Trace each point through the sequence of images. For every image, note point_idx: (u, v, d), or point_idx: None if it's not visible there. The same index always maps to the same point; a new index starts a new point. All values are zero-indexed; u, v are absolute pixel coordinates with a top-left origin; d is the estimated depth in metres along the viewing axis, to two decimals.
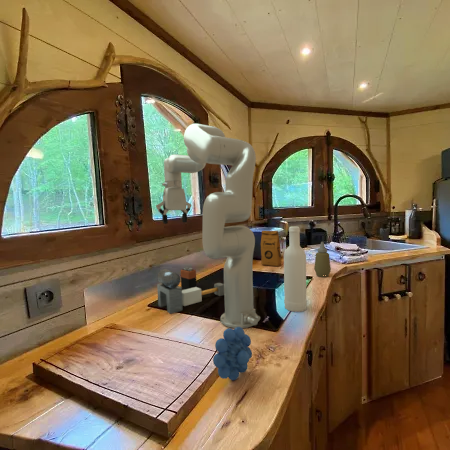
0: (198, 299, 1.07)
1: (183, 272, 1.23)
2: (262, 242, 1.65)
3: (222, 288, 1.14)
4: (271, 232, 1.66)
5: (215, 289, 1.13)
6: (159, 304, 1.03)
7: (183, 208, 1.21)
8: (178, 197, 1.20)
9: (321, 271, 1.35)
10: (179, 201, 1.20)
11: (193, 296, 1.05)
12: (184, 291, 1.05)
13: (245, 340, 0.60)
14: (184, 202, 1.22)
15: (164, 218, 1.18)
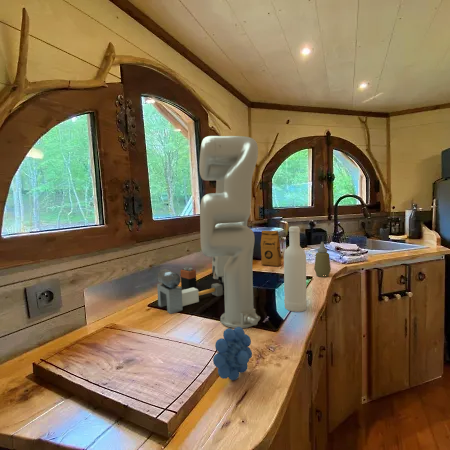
0: (195, 299, 1.06)
1: (183, 272, 1.23)
2: (262, 242, 1.65)
3: (219, 288, 1.13)
4: (271, 232, 1.66)
5: (212, 289, 1.12)
6: (159, 304, 1.03)
7: None
8: None
9: (321, 271, 1.35)
10: None
11: (190, 297, 1.04)
12: None
13: (245, 340, 0.60)
14: None
15: (222, 285, 1.15)
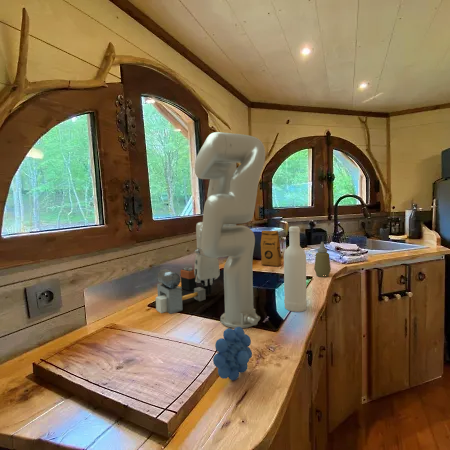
0: None
1: (183, 272, 1.23)
2: (262, 242, 1.65)
3: (202, 293, 1.08)
4: (271, 232, 1.66)
5: (195, 294, 1.07)
6: None
7: (216, 276, 1.11)
8: (211, 265, 1.09)
9: (321, 271, 1.35)
10: (212, 269, 1.10)
11: None
12: (161, 297, 0.99)
13: (245, 340, 0.60)
14: (217, 269, 1.11)
15: (205, 289, 1.11)
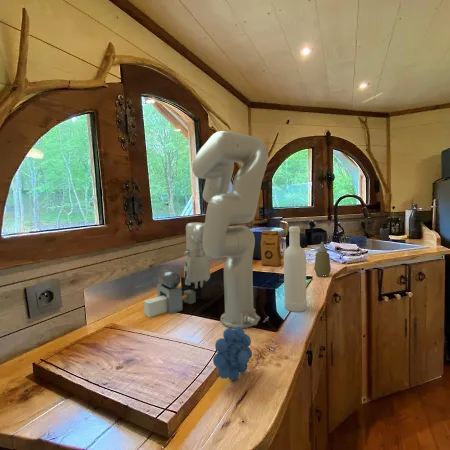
0: (165, 308, 0.97)
1: (183, 272, 1.23)
2: (262, 242, 1.65)
3: (192, 295, 1.05)
4: (271, 232, 1.66)
5: (184, 297, 1.04)
6: None
7: (207, 278, 1.08)
8: (201, 266, 1.06)
9: (321, 271, 1.35)
10: (202, 271, 1.07)
11: (159, 306, 0.96)
12: (149, 301, 0.95)
13: (245, 340, 0.60)
14: (208, 271, 1.08)
15: (196, 292, 1.08)
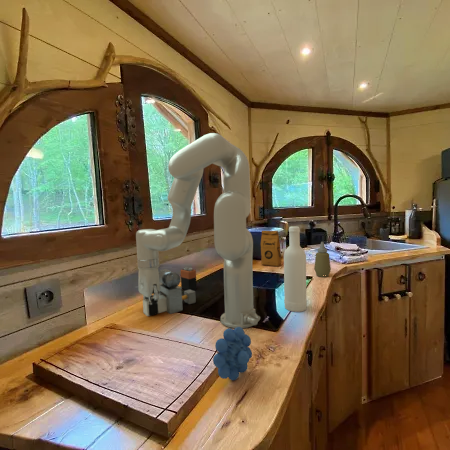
0: (164, 308, 0.98)
1: (183, 272, 1.23)
2: (262, 242, 1.65)
3: (192, 296, 1.05)
4: (271, 232, 1.66)
5: (184, 297, 1.05)
6: None
7: (145, 295, 0.92)
8: (142, 280, 0.94)
9: (321, 271, 1.35)
10: (143, 285, 0.94)
11: (158, 305, 0.96)
12: (148, 300, 0.96)
13: (245, 340, 0.60)
14: (146, 288, 0.92)
15: None
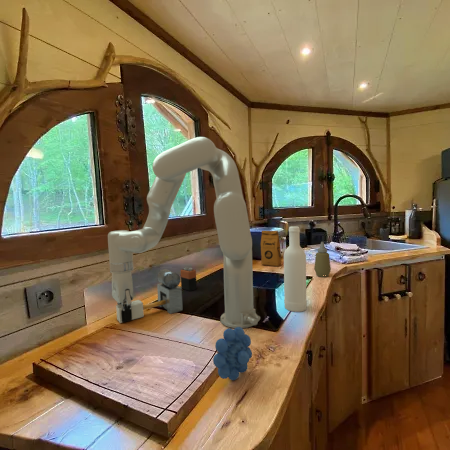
0: (139, 314, 0.92)
1: (183, 272, 1.23)
2: (262, 242, 1.65)
3: None
4: (271, 232, 1.66)
5: (162, 302, 0.99)
6: None
7: (117, 301, 0.87)
8: (114, 284, 0.88)
9: (321, 271, 1.35)
10: (115, 290, 0.88)
11: (132, 311, 0.91)
12: (121, 305, 0.91)
13: (245, 340, 0.60)
14: (117, 293, 0.86)
15: None
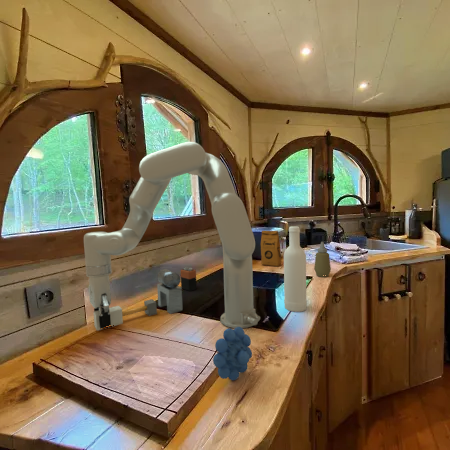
0: (118, 321, 0.88)
1: (183, 272, 1.23)
2: (262, 242, 1.65)
3: (152, 306, 0.95)
4: (271, 232, 1.66)
5: (143, 308, 0.95)
6: (159, 304, 1.03)
7: (93, 306, 0.82)
8: (91, 288, 0.84)
9: (321, 271, 1.35)
10: (91, 294, 0.84)
11: (110, 318, 0.87)
12: (99, 312, 0.86)
13: (245, 340, 0.60)
14: (93, 298, 0.82)
15: None
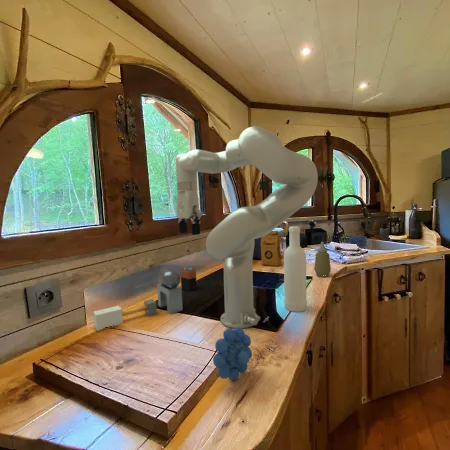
0: (118, 321, 0.88)
1: (183, 272, 1.23)
2: (262, 242, 1.65)
3: (152, 306, 0.95)
4: (271, 232, 1.66)
5: (143, 308, 0.95)
6: (159, 304, 1.03)
7: (186, 216, 0.95)
8: (182, 202, 0.96)
9: (321, 271, 1.35)
10: (183, 207, 0.96)
11: (110, 318, 0.87)
12: (99, 312, 0.86)
13: (245, 340, 0.60)
14: (186, 209, 0.94)
15: None
